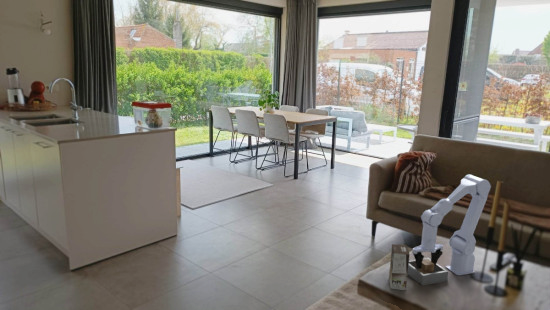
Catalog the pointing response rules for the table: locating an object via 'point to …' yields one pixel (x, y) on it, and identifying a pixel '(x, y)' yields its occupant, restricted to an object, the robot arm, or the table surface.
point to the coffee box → (399, 267)
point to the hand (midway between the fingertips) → (425, 266)
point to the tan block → (427, 267)
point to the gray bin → (430, 278)
